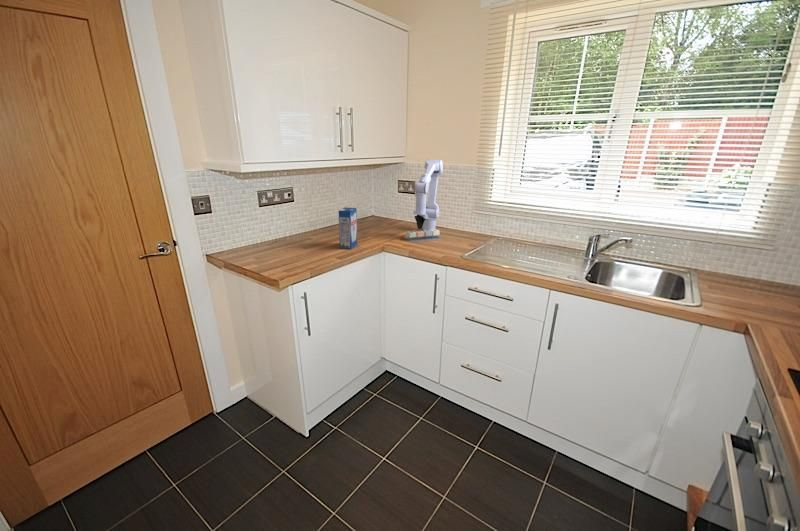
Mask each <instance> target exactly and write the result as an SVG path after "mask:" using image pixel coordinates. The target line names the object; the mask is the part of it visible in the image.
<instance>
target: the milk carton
mask: <svg viewBox="0 0 800 531" xmlns="http://www.w3.org/2000/svg"><path fill="white" fill-rule="evenodd" d="M357 210H358V209H357V207H344V208H341V209H338V228H339V229H338V232H339V249H342V250H352V249H353V247H354V248H355V247H356V246H357V245H358V221H357V220H358V218H357V216H358V215H357V214H358V213H357Z"/></svg>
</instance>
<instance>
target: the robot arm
mask: <svg viewBox="0 0 800 531" xmlns="http://www.w3.org/2000/svg"><path fill="white" fill-rule="evenodd" d="M424 167H425V168H424V170H425V171H424V174H422V175H421V176H420V178H419V180H418V182H417V183H415V185H414V193H415V194H414V196H415V210H413V215H414V220H415V222H416V226H417V227H416V228H417V229H418V230H421V231H423V230H435V229H436V225H437V219H438V218H439V216H440V206H439V204H437V201H436V200H437V192H438V184H439V179H440V176H441V175H443V170H444V161H443V159H427V158H426V160H425V162H424ZM427 194H428V198H427Z"/></svg>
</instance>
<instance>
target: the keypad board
mask: <svg viewBox="0 0 800 531" xmlns="http://www.w3.org/2000/svg"><path fill="white" fill-rule="evenodd" d="M403 238H404V239H406V240H407V241H409V242H411V243H420V242H431V241H441V240H444V238H442V237H439V235H432V236H425V235H424V236H422V237H417V236H416V237H408V236H403Z"/></svg>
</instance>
